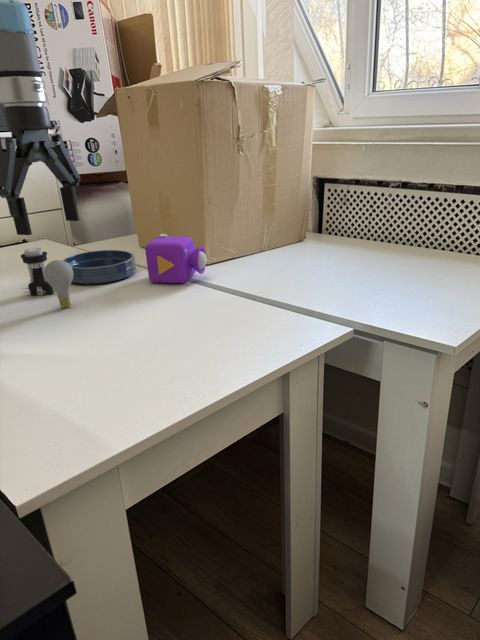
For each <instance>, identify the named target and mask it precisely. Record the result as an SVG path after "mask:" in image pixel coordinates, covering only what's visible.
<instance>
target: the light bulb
mask: <svg viewBox="0 0 480 640" xmlns="http://www.w3.org/2000/svg"><path fill="white" fill-rule="evenodd" d="M62 260H63V259H55V260H51V261H50V262H48V263H47V264H46V265H45V270H44V275H45V279H46V281H47V282H48V283H49V284H50V285H51V286H52V288H53V289H54V291H55V292H56V295H57V299H58V302H59V305H60V307H61V308H64V309H67V308H68V307H71V299H70V288H71V285H72V283H73V282H72V280H73V269H72V268H71V266H70V265H69V264H68V263H67V262H65V261H62Z"/></svg>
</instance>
